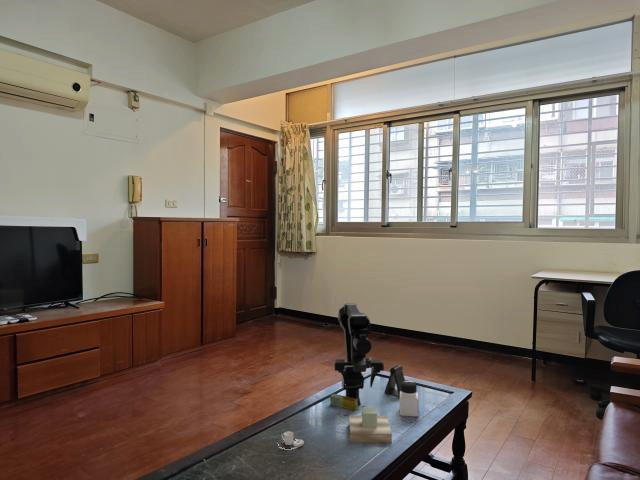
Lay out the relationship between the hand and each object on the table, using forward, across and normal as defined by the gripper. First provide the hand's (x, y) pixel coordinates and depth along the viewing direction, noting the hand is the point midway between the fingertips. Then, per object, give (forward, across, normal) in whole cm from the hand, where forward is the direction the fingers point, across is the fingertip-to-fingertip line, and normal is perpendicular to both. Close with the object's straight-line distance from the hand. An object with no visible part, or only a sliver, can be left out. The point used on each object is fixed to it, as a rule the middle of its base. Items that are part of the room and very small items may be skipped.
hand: (358, 387), depth 163 cm
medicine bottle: (+12, +20, +5) cm, 24 cm away
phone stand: (+12, +18, +25) cm, 33 cm away
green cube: (+9, +3, -12) cm, 15 cm away
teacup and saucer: (+13, -24, -23) cm, 36 cm away
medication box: (+12, -6, +10) cm, 17 cm away
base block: (+12, +3, -12) cm, 17 cm away
